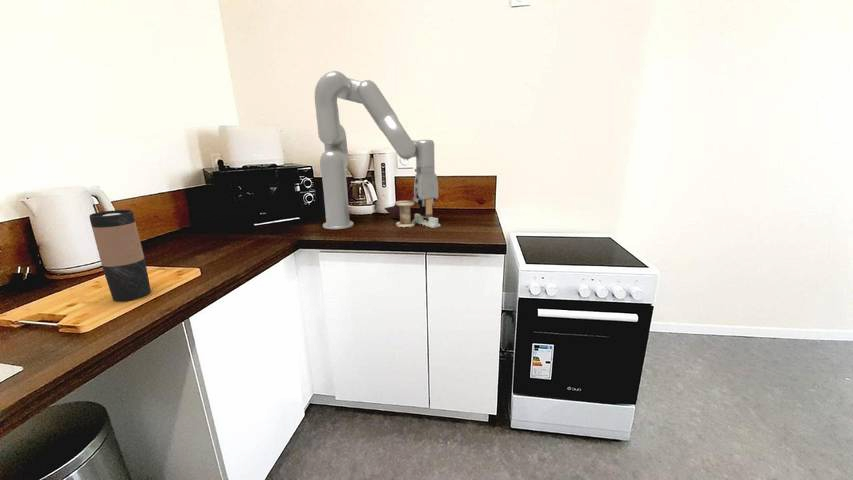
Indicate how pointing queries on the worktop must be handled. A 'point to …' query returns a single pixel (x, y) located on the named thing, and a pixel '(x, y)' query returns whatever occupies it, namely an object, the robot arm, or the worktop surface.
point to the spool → (405, 214)
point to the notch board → (431, 223)
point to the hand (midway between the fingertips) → (426, 214)
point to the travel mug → (121, 254)
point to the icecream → (394, 211)
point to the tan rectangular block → (428, 208)
